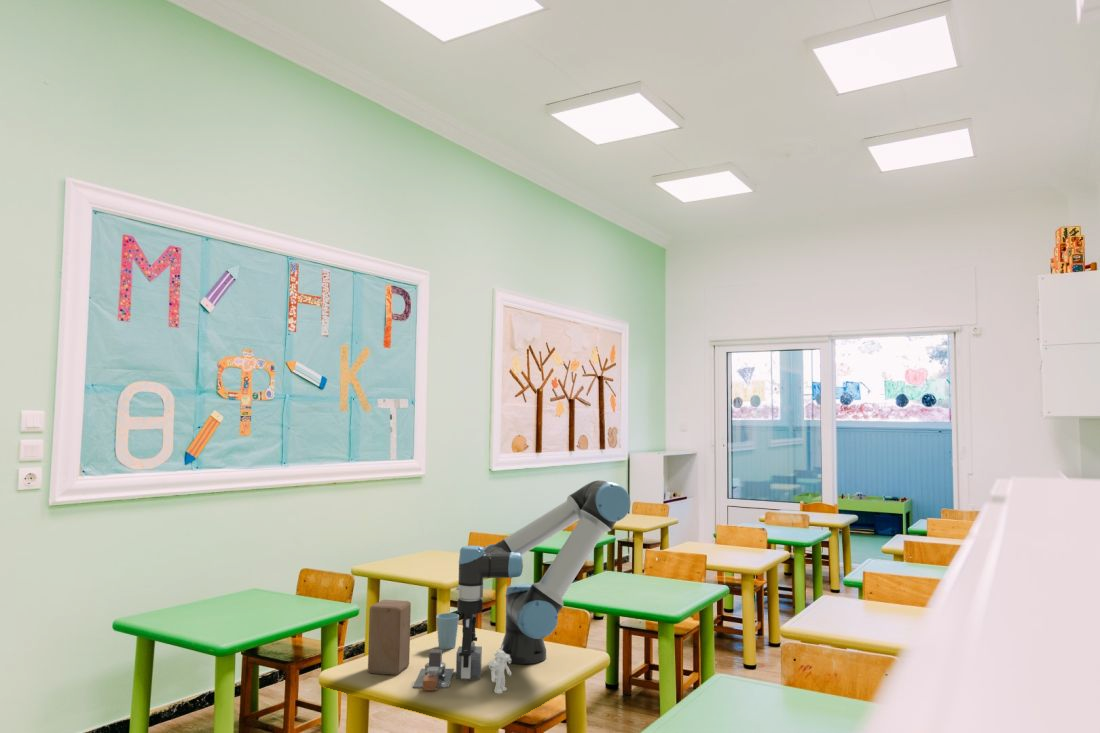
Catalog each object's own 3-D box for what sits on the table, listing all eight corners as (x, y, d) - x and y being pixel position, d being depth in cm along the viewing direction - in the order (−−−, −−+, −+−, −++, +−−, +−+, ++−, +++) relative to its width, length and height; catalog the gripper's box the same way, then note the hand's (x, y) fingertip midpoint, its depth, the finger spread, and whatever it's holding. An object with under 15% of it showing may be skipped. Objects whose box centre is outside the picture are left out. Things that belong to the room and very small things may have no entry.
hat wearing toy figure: (503, 684, 214) (504, 642, 215) (514, 687, 212) (515, 644, 213) (484, 694, 206) (485, 650, 207) (496, 696, 204) (496, 652, 205)
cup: (455, 650, 246) (455, 618, 247) (432, 649, 247) (433, 618, 248) (461, 644, 254) (461, 613, 254) (439, 643, 255) (440, 612, 256)
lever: (454, 669, 227) (454, 645, 227) (446, 691, 208) (447, 664, 208) (421, 669, 226) (422, 645, 227) (411, 691, 208) (411, 664, 208)
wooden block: (397, 676, 220) (399, 607, 222) (366, 673, 222) (368, 606, 224) (410, 666, 230) (412, 600, 232) (380, 663, 232) (382, 598, 234)
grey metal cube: (481, 671, 225) (481, 646, 226) (479, 679, 218) (480, 653, 219) (458, 671, 225) (458, 646, 226) (456, 679, 218) (456, 653, 219)
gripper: (461, 589, 236) (459, 657, 234) (453, 607, 211) (450, 684, 209) (485, 589, 236) (483, 658, 234) (479, 608, 211) (476, 684, 209)
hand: (467, 670), depth 222 cm, fingers open, 13 cm apart
